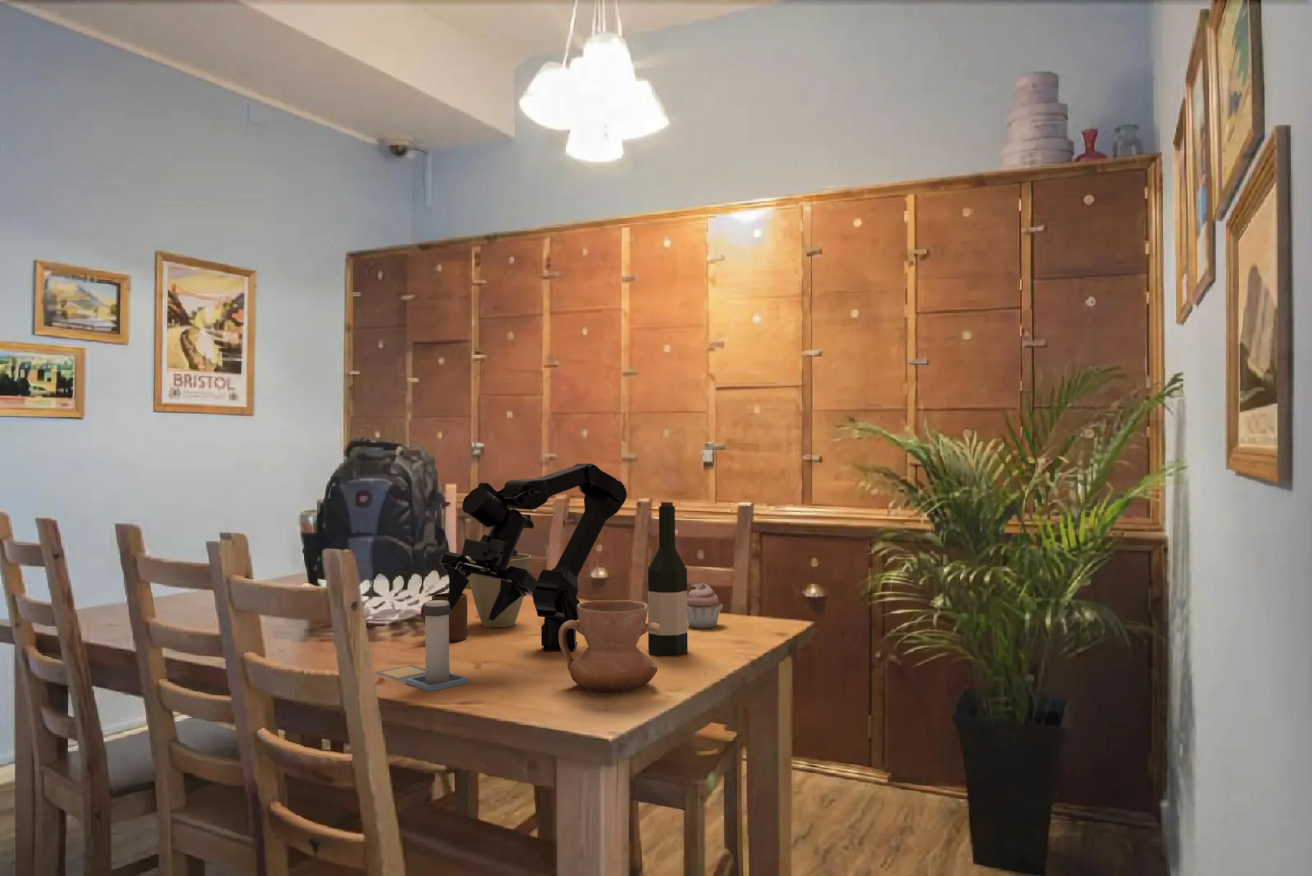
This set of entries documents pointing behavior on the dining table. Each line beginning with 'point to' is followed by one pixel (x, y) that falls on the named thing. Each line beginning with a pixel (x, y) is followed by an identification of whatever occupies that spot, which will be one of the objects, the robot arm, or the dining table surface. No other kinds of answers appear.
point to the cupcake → (703, 607)
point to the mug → (454, 616)
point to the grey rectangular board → (420, 678)
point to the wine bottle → (667, 591)
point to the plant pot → (496, 594)
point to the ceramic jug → (610, 646)
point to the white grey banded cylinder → (436, 641)
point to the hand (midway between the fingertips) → (469, 614)
